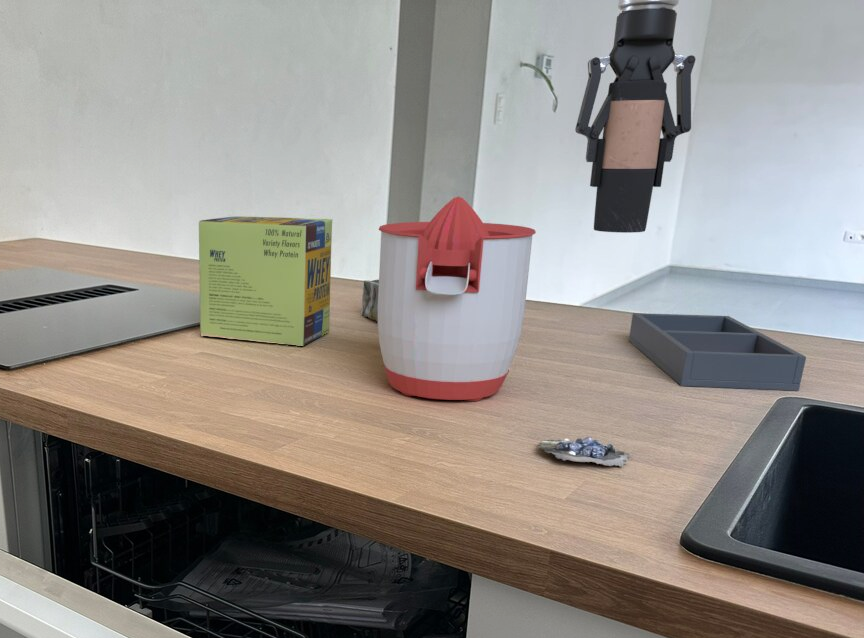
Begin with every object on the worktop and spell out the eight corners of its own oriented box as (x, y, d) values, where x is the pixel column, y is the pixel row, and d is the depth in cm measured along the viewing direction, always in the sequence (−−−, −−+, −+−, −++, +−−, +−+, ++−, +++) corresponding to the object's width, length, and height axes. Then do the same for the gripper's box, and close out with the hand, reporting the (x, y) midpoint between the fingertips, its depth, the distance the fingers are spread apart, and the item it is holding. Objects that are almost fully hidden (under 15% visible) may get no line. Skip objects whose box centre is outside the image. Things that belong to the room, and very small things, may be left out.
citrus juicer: (357, 407, 86) (366, 200, 79) (381, 366, 102) (390, 191, 95) (519, 420, 82) (542, 204, 76) (518, 376, 98) (537, 193, 91)
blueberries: (521, 448, 75) (523, 427, 74) (598, 439, 77) (600, 419, 76) (569, 475, 69) (572, 452, 68) (651, 464, 71) (655, 442, 70)
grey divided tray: (723, 344, 114) (728, 315, 113) (799, 391, 93) (806, 356, 91) (628, 340, 116) (632, 313, 115) (680, 386, 94) (686, 352, 93)
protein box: (304, 348, 111) (307, 224, 106) (198, 337, 117) (196, 220, 112) (331, 332, 120) (334, 218, 115) (231, 323, 126) (230, 214, 121)
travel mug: (580, 229, 128) (597, 83, 122) (624, 227, 130) (642, 84, 124) (613, 233, 121) (633, 79, 115) (659, 231, 123) (680, 80, 117)
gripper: (573, 8, 114) (555, 187, 122) (738, 3, 111) (709, 187, 119) (563, 16, 121) (546, 185, 129) (718, 12, 118) (692, 185, 126)
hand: (624, 186), depth 124 cm, fingers closed on travel mug, 8 cm apart
